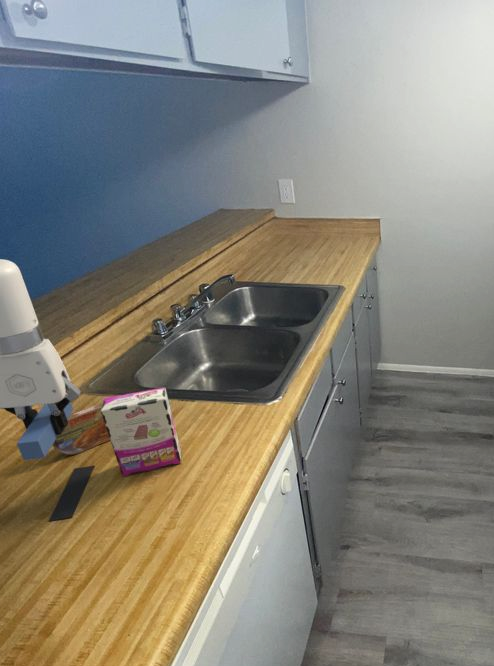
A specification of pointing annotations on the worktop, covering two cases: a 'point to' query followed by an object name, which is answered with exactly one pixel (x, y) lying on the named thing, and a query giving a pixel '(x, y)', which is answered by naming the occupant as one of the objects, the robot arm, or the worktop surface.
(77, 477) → the strip
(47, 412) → the stick
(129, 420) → the candy bar box
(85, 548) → the worktop surface
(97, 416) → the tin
